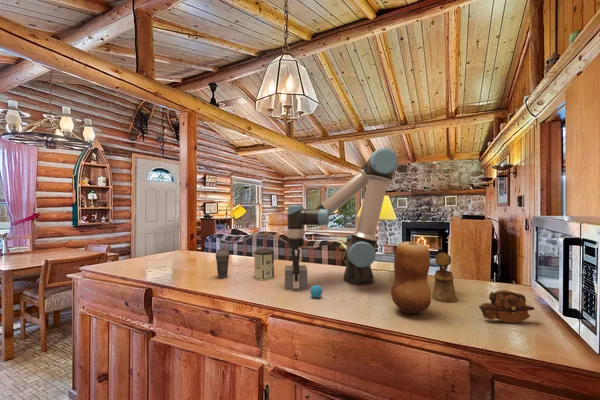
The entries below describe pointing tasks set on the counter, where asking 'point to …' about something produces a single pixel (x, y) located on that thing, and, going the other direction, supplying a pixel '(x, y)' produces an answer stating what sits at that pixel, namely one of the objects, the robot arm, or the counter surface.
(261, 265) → the coffee can
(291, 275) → the grey cubic block
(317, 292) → the ball
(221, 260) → the beverage cup
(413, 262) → the butternut squash
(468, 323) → the counter surface
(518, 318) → the wooden carving
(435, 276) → the brown pawn shape
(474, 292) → the counter surface
